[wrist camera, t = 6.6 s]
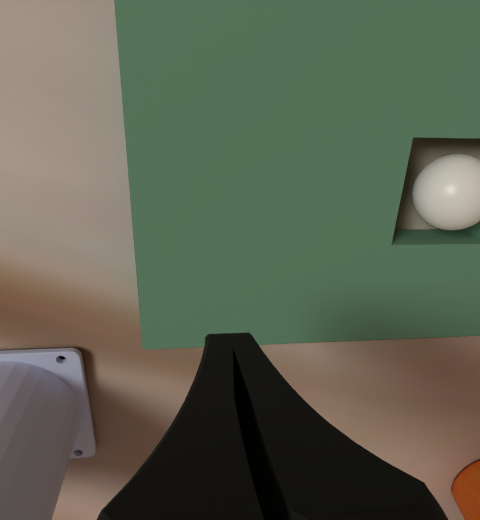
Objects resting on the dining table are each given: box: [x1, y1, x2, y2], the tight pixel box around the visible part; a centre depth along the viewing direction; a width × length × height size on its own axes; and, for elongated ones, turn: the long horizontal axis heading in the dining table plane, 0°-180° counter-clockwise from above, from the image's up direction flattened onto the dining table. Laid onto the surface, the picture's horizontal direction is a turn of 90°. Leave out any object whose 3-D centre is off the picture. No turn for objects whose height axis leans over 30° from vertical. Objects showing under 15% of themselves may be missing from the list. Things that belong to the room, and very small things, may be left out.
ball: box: [412, 154, 480, 230], centre depth 19 cm, size 4×4×4 cm
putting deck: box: [114, 0, 480, 350], centre depth 20 cm, size 19×16×2 cm
